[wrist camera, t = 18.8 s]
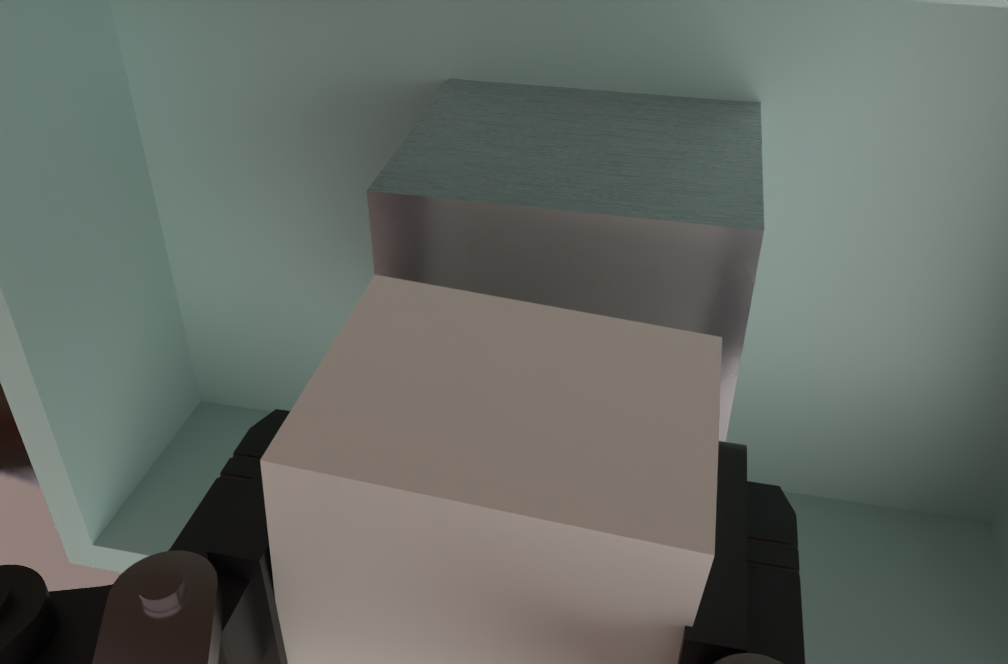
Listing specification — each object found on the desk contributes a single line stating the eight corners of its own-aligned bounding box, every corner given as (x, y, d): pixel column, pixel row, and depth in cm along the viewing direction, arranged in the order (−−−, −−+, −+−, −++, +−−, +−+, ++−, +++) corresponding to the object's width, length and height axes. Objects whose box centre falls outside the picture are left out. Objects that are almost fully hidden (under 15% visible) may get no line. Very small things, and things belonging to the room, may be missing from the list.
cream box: (375, 274, 14) (259, 460, 10) (722, 337, 13) (715, 555, 10) (376, 514, 16) (287, 717, 13) (659, 574, 16) (638, 802, 13)
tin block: (449, 78, 18) (366, 190, 14) (760, 102, 17) (764, 230, 13) (457, 327, 22) (392, 473, 18) (717, 359, 21) (710, 522, 17)
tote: (56, -187, 18) (-198, -136, 13) (1316, -131, 14) (1601, -33, 10) (192, 401, 26) (69, 563, 22) (1008, 527, 23) (1077, 754, 18)
